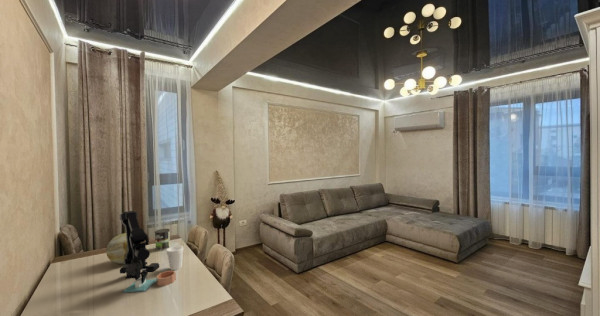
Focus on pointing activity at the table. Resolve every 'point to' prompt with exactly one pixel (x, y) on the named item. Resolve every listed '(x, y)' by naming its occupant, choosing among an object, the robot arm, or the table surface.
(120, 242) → the decorative sphere
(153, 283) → the mat
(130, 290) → the cover plate
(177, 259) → the foam cup
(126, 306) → the table surface
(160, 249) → the coffee can
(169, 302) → the table surface
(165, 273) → the bowl
